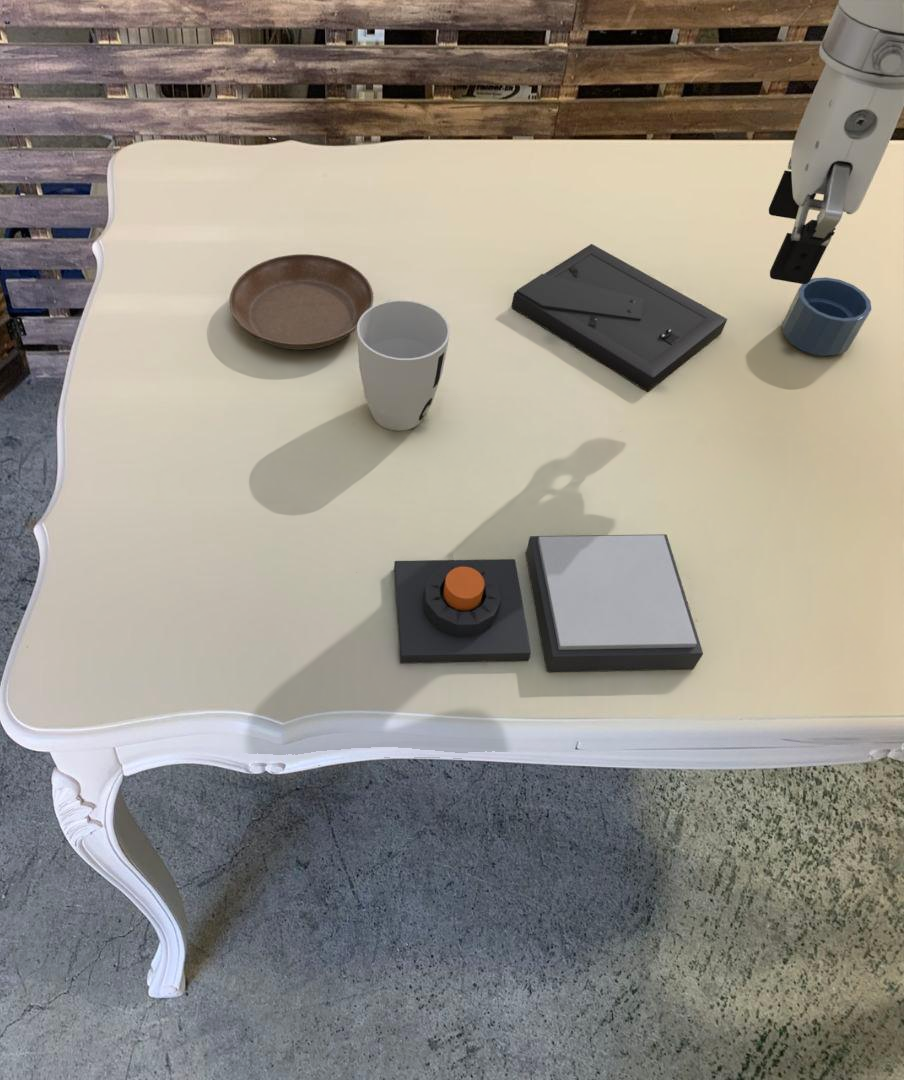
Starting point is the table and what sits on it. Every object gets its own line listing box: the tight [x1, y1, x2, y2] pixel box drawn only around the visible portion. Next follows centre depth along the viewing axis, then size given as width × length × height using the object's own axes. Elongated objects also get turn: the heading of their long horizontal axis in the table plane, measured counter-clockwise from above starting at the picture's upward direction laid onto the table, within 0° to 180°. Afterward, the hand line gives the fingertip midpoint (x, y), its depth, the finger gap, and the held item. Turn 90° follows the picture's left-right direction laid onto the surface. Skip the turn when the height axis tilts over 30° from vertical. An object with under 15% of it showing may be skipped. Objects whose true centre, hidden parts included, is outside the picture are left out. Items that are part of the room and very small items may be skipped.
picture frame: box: [510, 243, 728, 392], centre depth 94 cm, size 13×2×18 cm
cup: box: [356, 299, 451, 432], centre depth 82 cm, size 8×8×10 cm
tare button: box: [443, 567, 485, 611], centre depth 69 cm, size 3×3×2 cm
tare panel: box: [393, 558, 532, 664], centre depth 71 cm, size 10×9×3 cm
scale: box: [524, 533, 704, 673], centre depth 72 cm, size 12×12×3 cm
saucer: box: [229, 253, 374, 350], centre depth 93 cm, size 15×15×3 cm
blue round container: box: [781, 276, 872, 357], centre depth 92 cm, size 7×7×5 cm
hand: (786, 246), depth 78 cm, fingers open, 9 cm apart
